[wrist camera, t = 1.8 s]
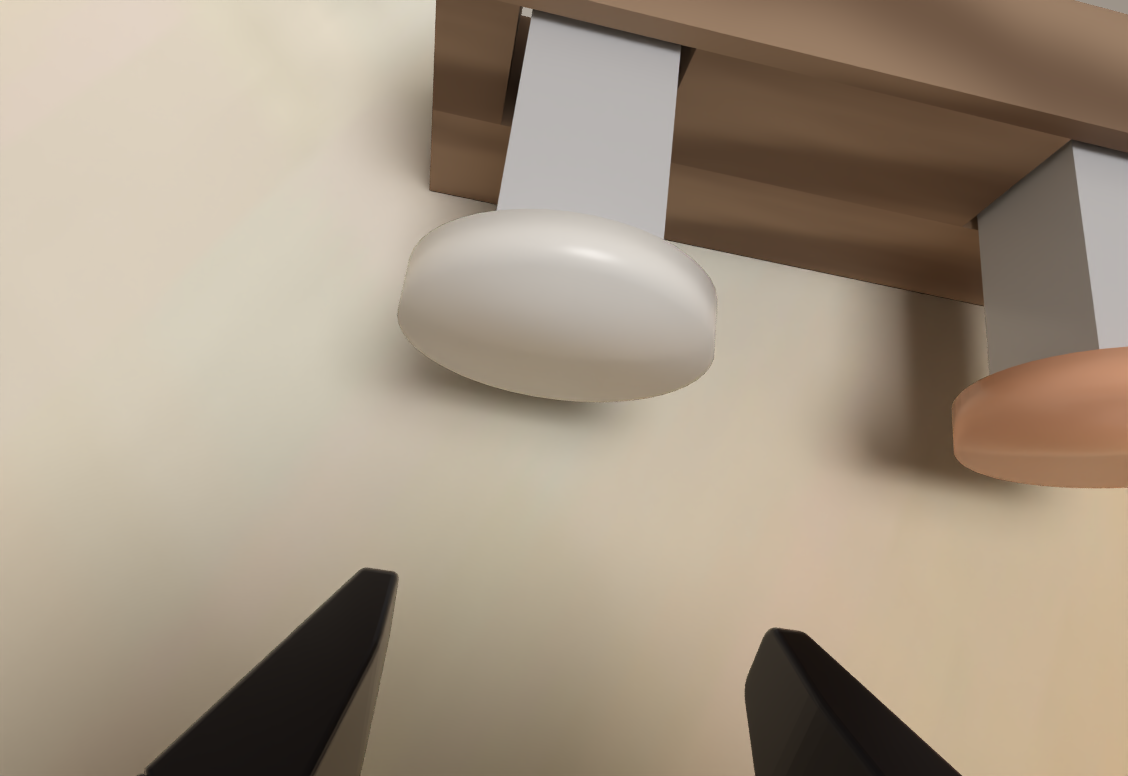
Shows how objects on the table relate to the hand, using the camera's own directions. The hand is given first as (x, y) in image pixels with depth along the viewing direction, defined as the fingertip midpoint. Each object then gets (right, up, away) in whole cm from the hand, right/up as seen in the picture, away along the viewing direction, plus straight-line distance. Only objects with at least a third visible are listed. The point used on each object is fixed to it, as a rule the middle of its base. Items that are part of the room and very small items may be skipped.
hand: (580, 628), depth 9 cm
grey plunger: (0, +7, +13) cm, 15 cm away
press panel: (+7, +9, +18) cm, 21 cm away
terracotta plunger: (+13, +4, +15) cm, 20 cm away
